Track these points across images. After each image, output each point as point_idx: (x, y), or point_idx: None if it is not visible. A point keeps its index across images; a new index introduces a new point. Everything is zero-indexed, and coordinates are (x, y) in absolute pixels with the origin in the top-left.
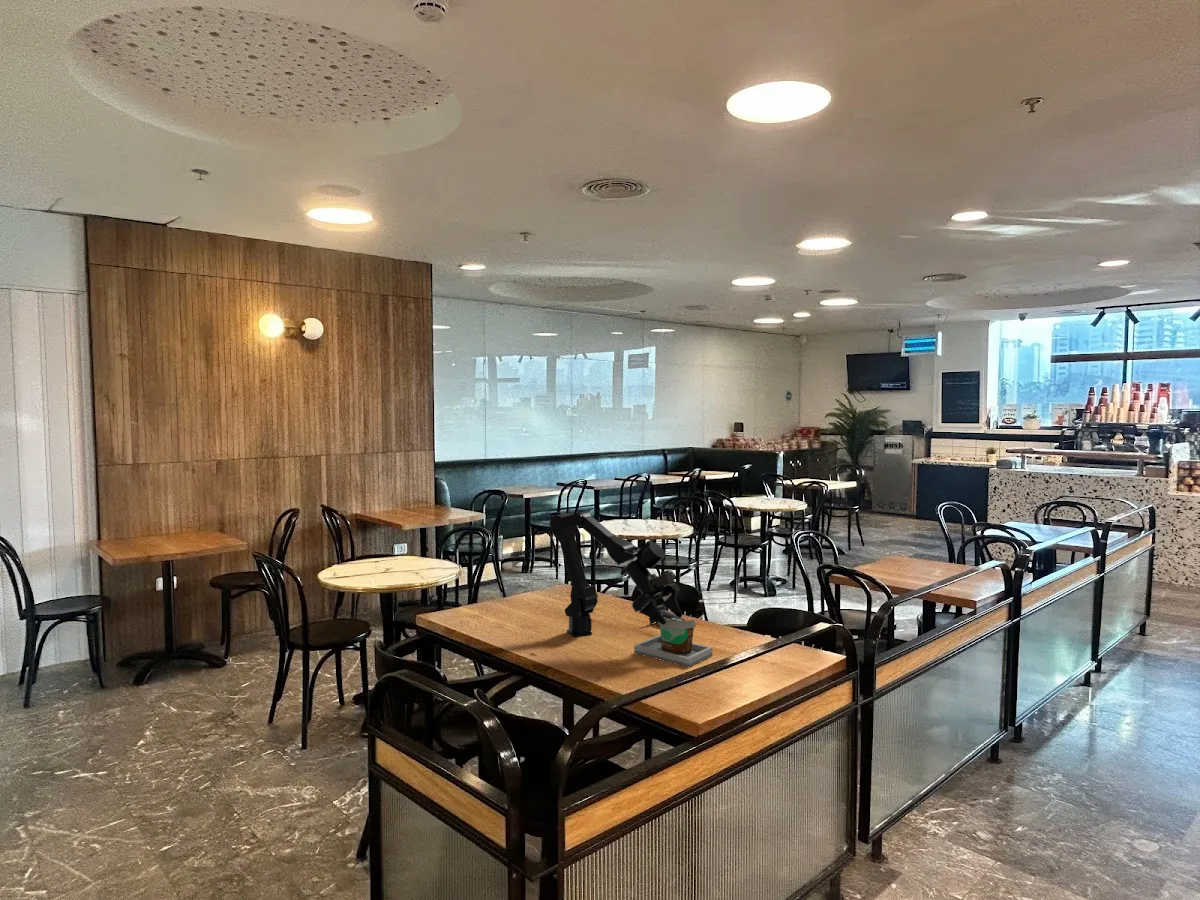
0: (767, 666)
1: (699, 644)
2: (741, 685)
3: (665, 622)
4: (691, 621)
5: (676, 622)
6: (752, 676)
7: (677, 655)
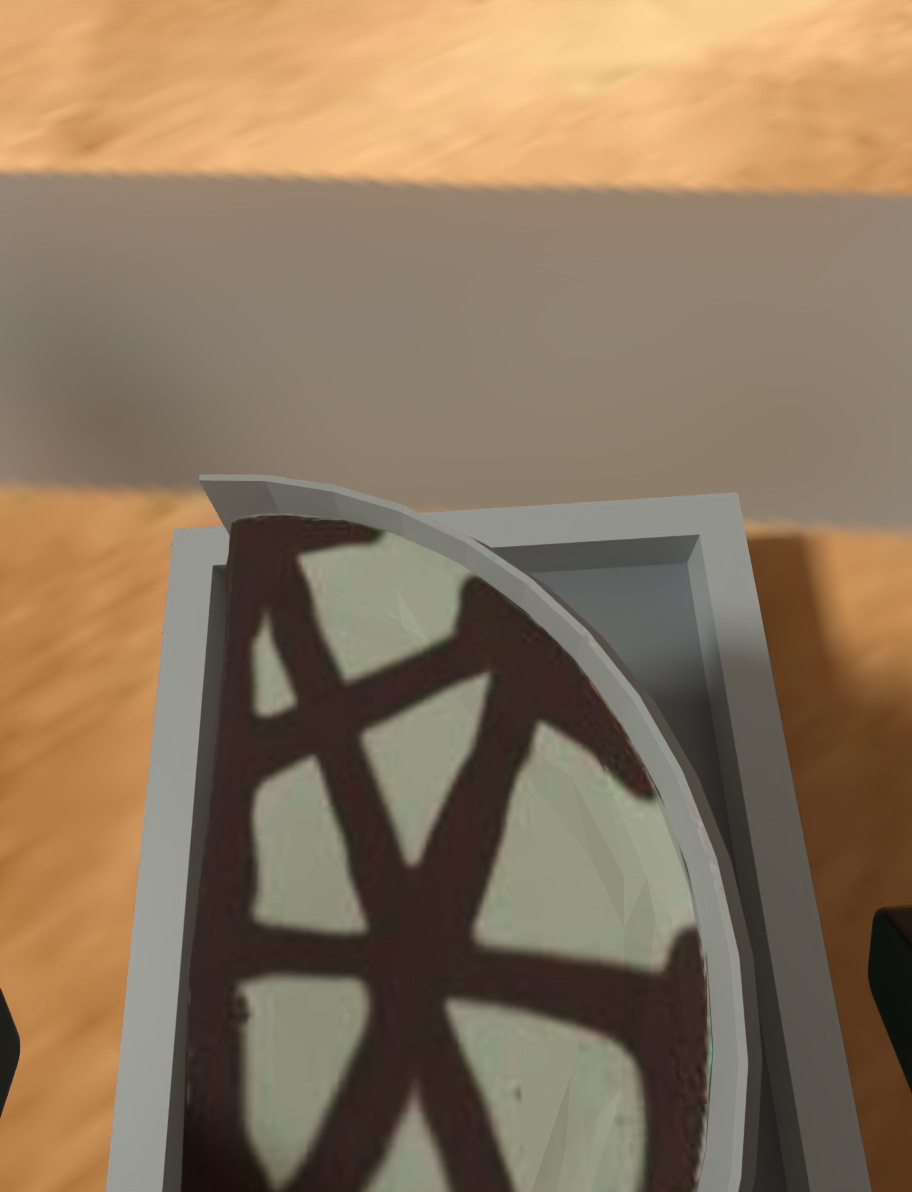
0: (181, 131)
1: (155, 713)
2: (706, 60)
3: (908, 907)
4: (309, 495)
5: (635, 697)
6: (473, 98)
7: (753, 660)
